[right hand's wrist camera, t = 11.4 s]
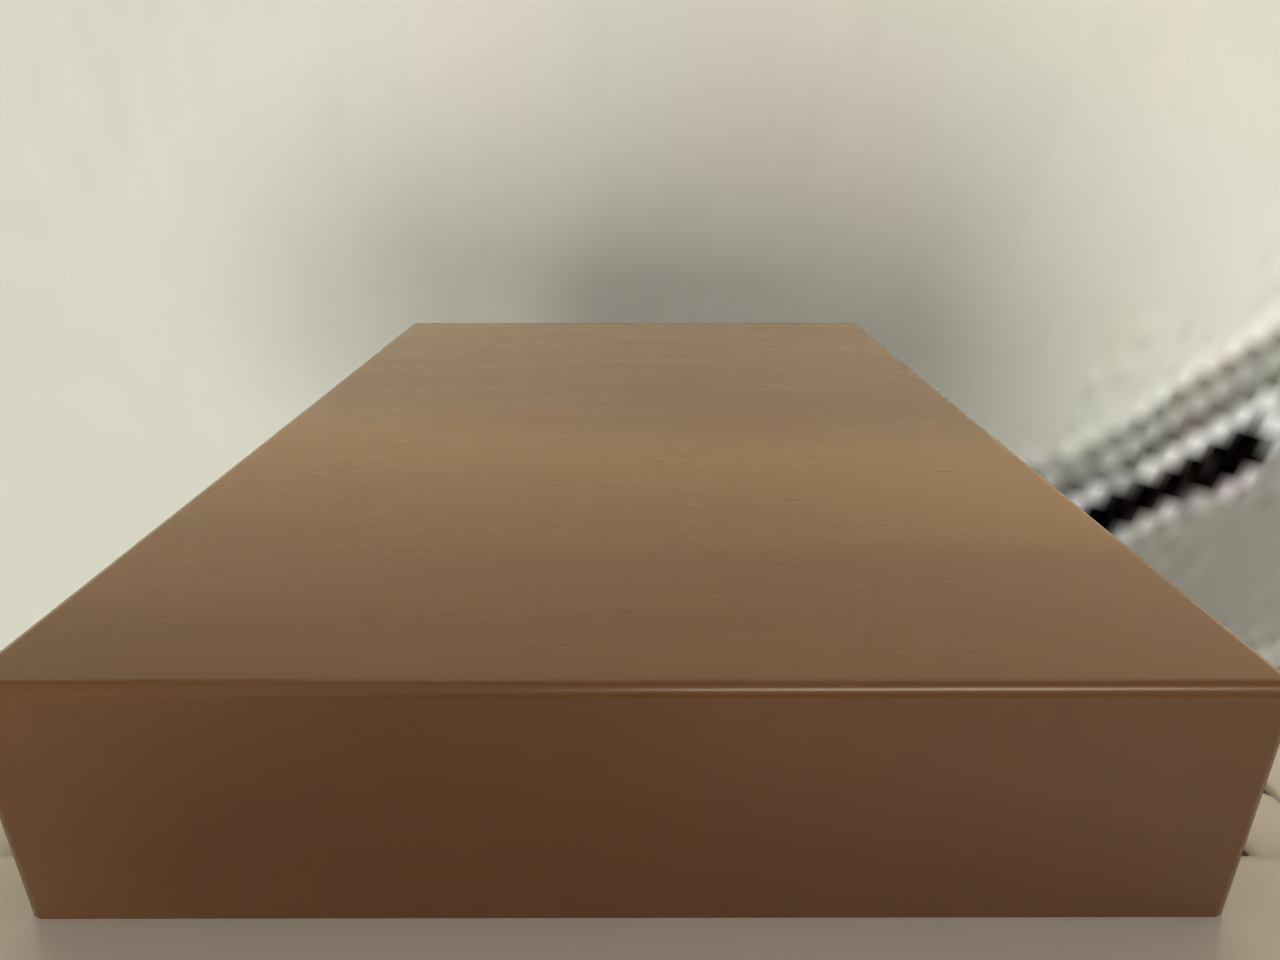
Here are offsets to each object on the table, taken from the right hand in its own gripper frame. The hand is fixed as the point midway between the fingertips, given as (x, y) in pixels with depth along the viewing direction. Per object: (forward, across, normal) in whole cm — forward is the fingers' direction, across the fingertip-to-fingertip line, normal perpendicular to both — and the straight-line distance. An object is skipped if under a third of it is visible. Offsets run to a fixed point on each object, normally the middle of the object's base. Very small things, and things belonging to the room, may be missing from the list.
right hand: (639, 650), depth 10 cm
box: (+4, 0, -10) cm, 11 cm away
